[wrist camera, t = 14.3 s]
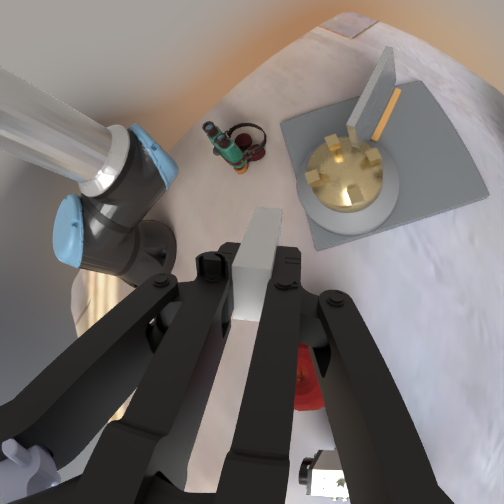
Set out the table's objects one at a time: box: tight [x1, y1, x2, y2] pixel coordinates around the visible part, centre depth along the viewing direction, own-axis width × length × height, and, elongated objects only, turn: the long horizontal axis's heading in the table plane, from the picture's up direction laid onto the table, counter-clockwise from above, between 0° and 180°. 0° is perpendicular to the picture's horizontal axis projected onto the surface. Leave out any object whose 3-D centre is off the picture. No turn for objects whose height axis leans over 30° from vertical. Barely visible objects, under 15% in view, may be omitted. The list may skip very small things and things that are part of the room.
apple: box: [294, 342, 325, 411], centre depth 35 cm, size 11×11×12 cm
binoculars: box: [202, 121, 266, 174], centre depth 50 cm, size 9×11×10 cm
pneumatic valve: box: [299, 448, 349, 501], centre depth 29 cm, size 6×12×12 cm, turn 92°
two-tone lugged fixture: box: [305, 46, 396, 213], centre depth 36 cm, size 28×11×8 cm, turn 147°
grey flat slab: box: [280, 81, 490, 251], centre depth 41 cm, size 31×26×4 cm
